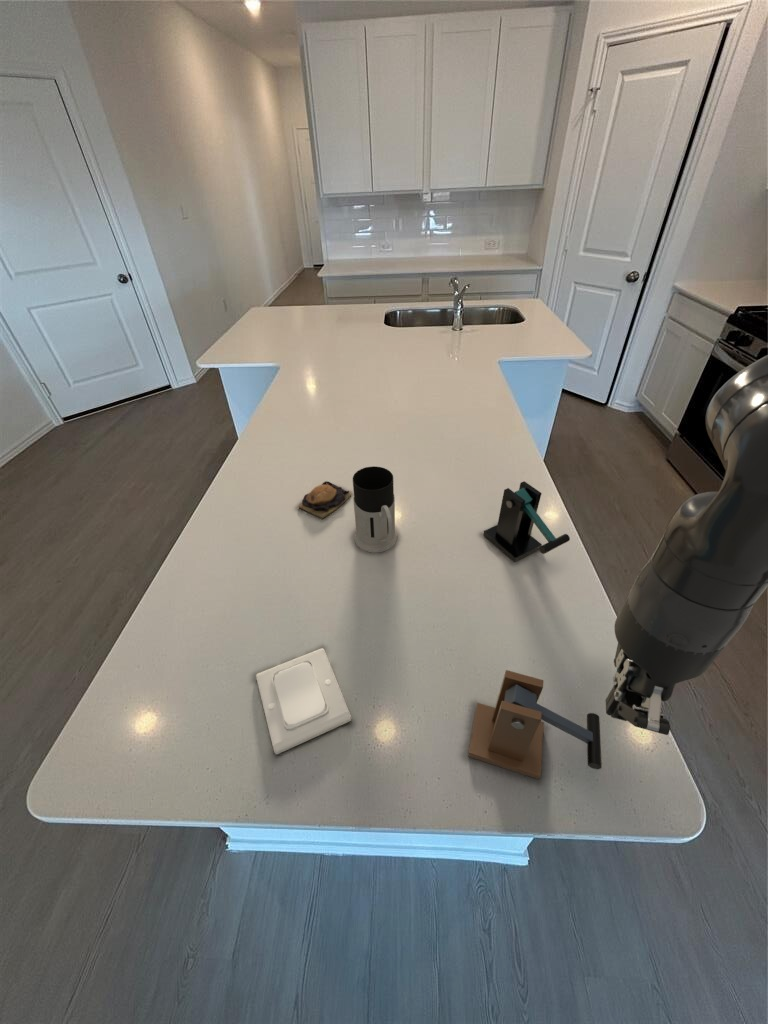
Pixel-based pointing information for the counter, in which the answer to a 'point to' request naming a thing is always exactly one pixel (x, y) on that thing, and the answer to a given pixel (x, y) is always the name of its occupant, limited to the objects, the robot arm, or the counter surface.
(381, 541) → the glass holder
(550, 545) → the far lever
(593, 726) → the near lever
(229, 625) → the counter surface
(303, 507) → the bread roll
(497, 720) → the near bracket
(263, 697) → the light switch
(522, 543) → the far bracket
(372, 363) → the counter surface
